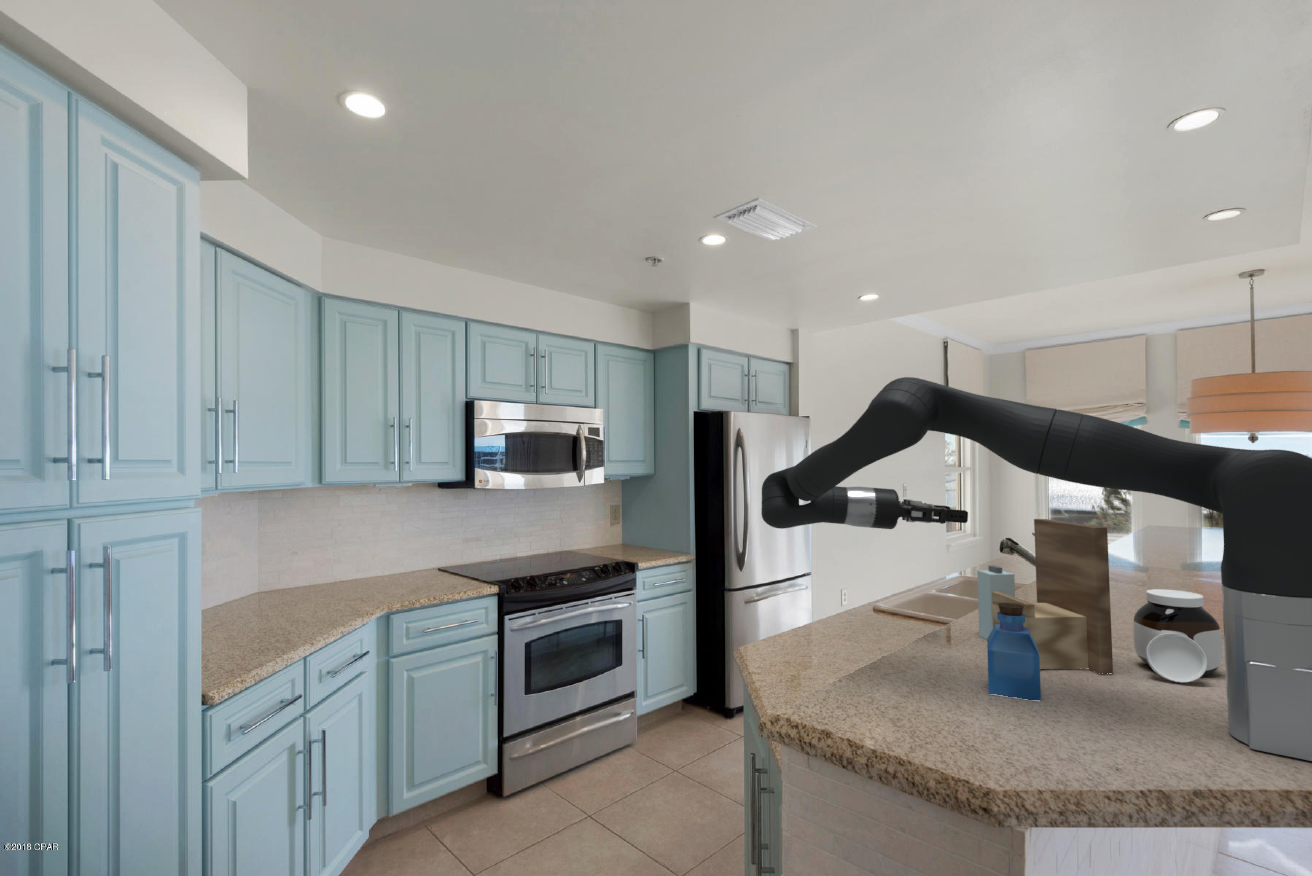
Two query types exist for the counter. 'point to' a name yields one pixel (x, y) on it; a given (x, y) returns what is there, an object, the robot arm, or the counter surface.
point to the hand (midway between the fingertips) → (957, 514)
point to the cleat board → (1069, 597)
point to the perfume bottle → (1013, 656)
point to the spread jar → (1177, 636)
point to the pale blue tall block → (986, 585)
